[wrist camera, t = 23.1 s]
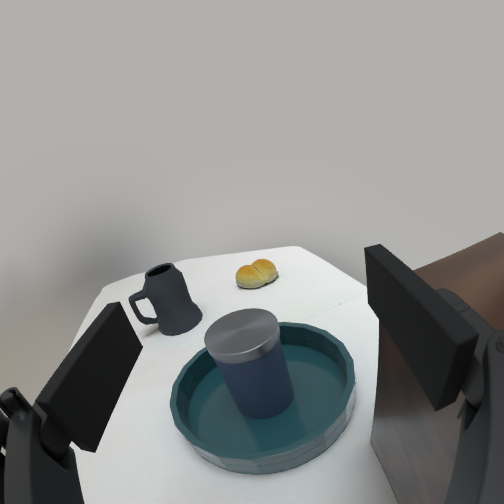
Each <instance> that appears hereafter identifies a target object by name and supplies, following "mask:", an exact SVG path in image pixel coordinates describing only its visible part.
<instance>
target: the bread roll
mask: <svg viewBox="0 0 504 504" xmlns="http://www.w3.org/2000/svg"><path fill="white" fill-rule="evenodd" d="M277 275H278V272H277V271H276V268H275V265H274V264H273V263H272V262H270V261H269V260H266V259H259V260H256V261H255V262H253V263H252V264H251V265H245V266H242V267H241V268H240V269H239V270H238V271H237V273H236V282H237V284H238V285H239V286H240V287H243V288H257V287H261V286H263V285H264V284H265V283H270V282H271V281H273V280H274V279H275V278H276V277H277Z"/></svg>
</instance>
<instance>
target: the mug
mask: <svg viewBox="0 0 504 504" xmlns="http://www.w3.org/2000/svg"><path fill="white" fill-rule="evenodd" d="M146 297H147V298H148V299H149V300H150V302H151V303H152V305H153V307H154V310H155V312H156V315H157V318H148V317H143V315H141V313H140V312H139V310H138V308H137V306H136V303H135V301H138V300H141V299H145V298H146ZM129 303H130V305H131V307H132V309H133V311H134V313H135V315H136V317H137V318H138V320H139V321H140V322H142V323H143V324H146V325H148V324H153V323H158V325H159V330H160V332H161V333H162V334H164V335H171V336H173V335H179V334H182V333H185V332H187V331H189V330H191V329H192V328H194V327H195V326H196V325H197V324H198V323H199V322H200V321H201V319H202V312H201V311H200V309H199V308H198V306H197V305H196V304H195V303H194V302H192V300H191V297H190V295H189V292H188V289H187V285H186V283H185V280H184V277H183V275H182V272H180V271H179V270H178V269H176V268H175V266H174V265H173V264H172V263H165V264H161V265H158V266H156V267H154V268H152V269H150V270H149V271H147V272H146V274H145V283H144V286H143V289H142V290H141V291H139V292H137V293H135V294H133V295H132V296H130V297H129Z"/></svg>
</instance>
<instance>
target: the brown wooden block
mask: <svg viewBox="0 0 504 504" xmlns="http://www.w3.org/2000/svg"><path fill="white" fill-rule="evenodd" d="M413 271H414V272H415V273H416V274H417V275H418V276H419V277H420V278H422V279H423V280H424V281H425V282H426V283H427V284H428V285H429V286H431V287H432V288H433V289H434V290H437V289H440V288H442V287H443V288H445V289H447V290H450V291H452V292H455V293H456V294H457V295H458V296H459V297H460V298H462V299H463V301H464V302H466V303H467V304H468V305H469V306H470V308H473V309H474V310H475V311H476V312H477V313H478V314H479V315H480V316H481V317H482V318H484V319H485V320H486V321H487V322H488V323H489V324H490V325H491V326H492V327H493V328H494V329H495V330H496V331H497V330H502V329H504V234H503V233H501V232H500V233H498V234H495V235H493V236H491V237H489V238H487V239H485V240H484V241H481V242H479V243H476V244H474V245H472V246H470V247H468V248H466V249H463V250H461V251H459V252H456V253H454V254H452V255H450V256H447V257H445V258H443V259H440V260H438V261H435V262H433V263H430V264H428V265H426V266H423V267H421V268H418V269H416V270H413ZM465 398H466V397H465V395H464V394H463V392H462V391H461V390H460V392H459V395H458V397H457V399H456V402H454V403H452V404H450V405H448V406H447V407H445V408H443V409H441V410H439V411H436V412H435V410H434V409H433V407H432V405H431V403H430V401H429V400H428V398H427V396H426V394H425V393H424V391H423V389H422V387H421V386H420V384H419V382H418V381H417V379H416V377H415V376H414V374H413V372H412V371H411V369H410V367H409V366H408V364H407V362H406V361H405V359H404V358H403V356H402V354H401V353H400V351H399V350H398V348H397V346H396V345H395V343H394V342H393V340H392V339H391V337H390V335H389V334H388V332H387V331H386V329H385V328H384V326H383V325H382V323H381V322H380V320H379V353H378V373H377V387H376V399H375V408H374V417H373V425H372V432H371V439H370V442H371V444H372V447H373V449H374V451H375V453H376V455H377V457H378V459H379V462H380V464H381V466H382V468H383V470H384V472H385V474H386V477H387V479H388V481H389V483H390V485H391V488H392V490H393V492H394V494H395V497H396V499H397V501H398V503H399V504H444V501H445V498H446V494H447V491H448V487H449V484H450V480H451V476H452V472H453V468H454V463H455V458H456V453H457V448H458V442H459V436H460V429H461V421H462V415H461V417H460V419H456V418H457V415H458V413H459V411H460V409H461V407H462V405H463V402H464V400H465Z"/></svg>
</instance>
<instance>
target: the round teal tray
mask: <svg viewBox="0 0 504 504" xmlns="http://www.w3.org/2000/svg"><path fill="white" fill-rule="evenodd" d="M278 325H279V329H280V336H279V337H280V341H281V345H282V349H283V353H284V356H285V360H286V364H287V368H288V372H289V376H290V379H291V383H292V387H293V399H292V401H291V403H290V405H289V406H288V407H287V408H286V409H285V410H284V411H283V412H281V413H280V414H278V415H276V416H274V417H271V418H266V419H253V418H249V417H247V416H245V415H243V414H242V413H241V412H240V411H239V409H238V407H237V406H236V404H235V402H234V400H233V398H232V396H231V394H230V392H229V389H228V387H227V385H226V383H225V381H224V379H223V377H222V375H221V373H220V371H219V369H218V366H217V364H216V362H215V360H214V358H213V357H212V356H211V355H210V354H209V352H208V349H207V347H205V348H203V349H202V350H200V351H199V352H197V353H196V355H195V356H194V357H193V358H192V359H191V360H190V361H189V362H188V363H187V364H186V365H185V366H184V367H183V368H182V370H181V372H180V374H179V375H178V377H177V379H176V381H175V382H174V384H173V387H172V393H171V399H170V408H171V412H172V416H173V420H174V423H175V426H176V427H177V428H178V429H179V431H180V432H181V433H182V434H183V436H184V437H185V438H186V439H187V440H188V442H189V443H190V444H191V445H192V446H193V447H194V448H195V449H196V450H197V451H198V453H199V454H200V455H201V456H202V457H203V458H205V459H207V460H208V461H210V462H211V463H213V464H215V465H217V466H219V467H221V468H224V469H226V470H230V471H234V472H238V473H245V474H269V473H276V472H281V471H285V470H288V469H292V468H295V467H297V466H299V465H302V464H304V463H306V462H308V461H310V460H311V459H313V458H315V457H317V456H318V455H320V454H321V453H322V452H323V451H325V450H326V449H327V448H328V447H330V446H331V445H332V444H333V442H334V441H335V440H336V439H337V438H338V437H339V436H340V434H341V433H342V432H343V430H344V429H345V427H346V425H347V423H348V421H349V419H350V417H351V414H352V410H353V406H354V403H355V374H354V363H353V359H352V357H351V356H350V354H349V352H348V351H347V349H346V347H345V346H344V344H343V343H342V342H341V341H340V340H338V339H337V338H335V337H334V336H333V335H331V334H330V333H329V332H327V331H325V330H322V329H319V328H316V327H314V326H311V325H308V324H301V323H290V322H279V323H278Z"/></svg>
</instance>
